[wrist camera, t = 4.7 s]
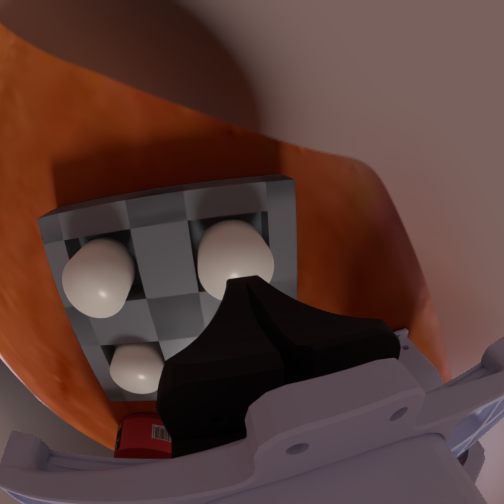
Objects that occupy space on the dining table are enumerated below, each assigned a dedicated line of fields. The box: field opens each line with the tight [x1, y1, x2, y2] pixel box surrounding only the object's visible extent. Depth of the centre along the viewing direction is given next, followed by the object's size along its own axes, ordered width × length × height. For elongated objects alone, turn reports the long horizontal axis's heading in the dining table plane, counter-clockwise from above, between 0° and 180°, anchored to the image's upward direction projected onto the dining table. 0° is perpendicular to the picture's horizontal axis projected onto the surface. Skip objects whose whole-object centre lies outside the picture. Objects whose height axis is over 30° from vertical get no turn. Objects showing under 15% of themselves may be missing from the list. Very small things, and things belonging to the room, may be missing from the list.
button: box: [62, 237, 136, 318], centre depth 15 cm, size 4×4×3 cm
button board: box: [37, 174, 297, 401], centre depth 19 cm, size 16×16×3 cm
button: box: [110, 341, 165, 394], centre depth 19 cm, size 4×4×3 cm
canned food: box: [114, 413, 171, 459], centre depth 21 cm, size 8×8×11 cm
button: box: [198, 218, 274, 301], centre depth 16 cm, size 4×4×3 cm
